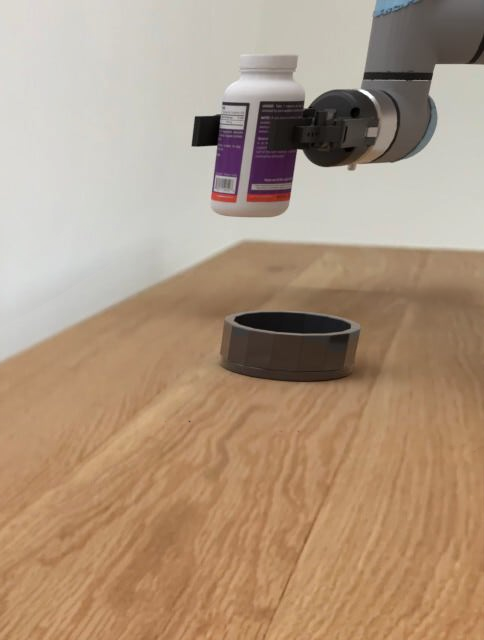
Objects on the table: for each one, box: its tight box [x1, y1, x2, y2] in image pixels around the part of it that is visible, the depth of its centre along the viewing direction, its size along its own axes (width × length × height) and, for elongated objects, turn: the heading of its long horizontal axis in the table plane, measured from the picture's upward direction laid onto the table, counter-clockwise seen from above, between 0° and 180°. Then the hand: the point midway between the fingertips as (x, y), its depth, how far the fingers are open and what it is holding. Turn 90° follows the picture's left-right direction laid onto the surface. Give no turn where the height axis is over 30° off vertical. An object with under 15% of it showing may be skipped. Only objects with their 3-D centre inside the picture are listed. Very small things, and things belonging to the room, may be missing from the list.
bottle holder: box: [219, 309, 361, 382], centre depth 100 cm, size 12×12×4 cm
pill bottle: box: [210, 53, 306, 218], centre depth 113 cm, size 8×8×14 cm
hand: (233, 133), depth 110 cm, fingers closed on pill bottle, 8 cm apart
